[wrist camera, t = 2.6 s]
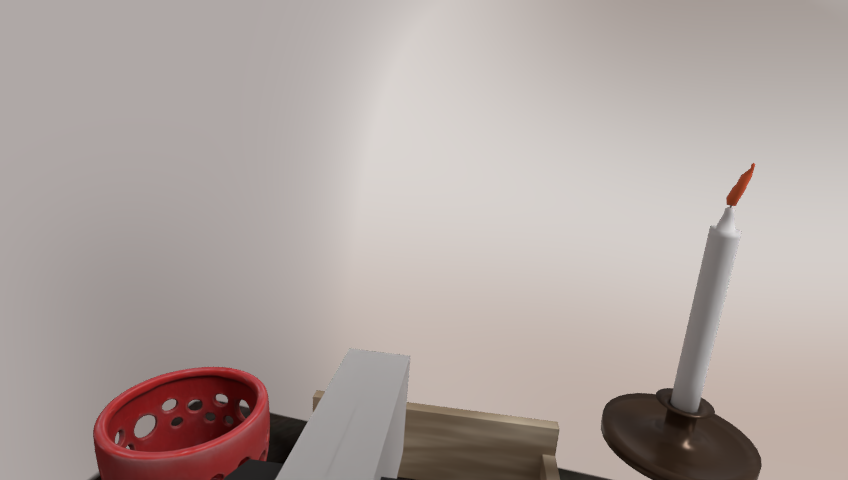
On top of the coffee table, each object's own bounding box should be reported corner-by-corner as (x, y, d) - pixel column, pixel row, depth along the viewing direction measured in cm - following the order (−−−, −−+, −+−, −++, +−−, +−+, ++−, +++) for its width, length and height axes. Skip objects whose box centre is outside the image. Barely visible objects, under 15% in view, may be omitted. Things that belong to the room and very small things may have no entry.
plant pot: (236, 452, 53) (233, 350, 50) (296, 532, 44) (297, 413, 41) (91, 510, 45) (77, 391, 42) (128, 625, 35) (114, 483, 32)
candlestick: (724, 575, 43) (841, 168, 34) (704, 684, 34) (853, 179, 26) (598, 510, 49) (670, 150, 40) (555, 588, 41) (633, 154, 32)
